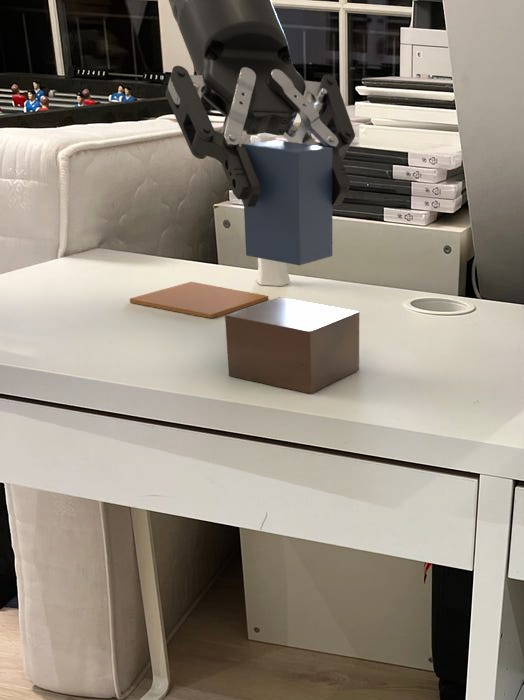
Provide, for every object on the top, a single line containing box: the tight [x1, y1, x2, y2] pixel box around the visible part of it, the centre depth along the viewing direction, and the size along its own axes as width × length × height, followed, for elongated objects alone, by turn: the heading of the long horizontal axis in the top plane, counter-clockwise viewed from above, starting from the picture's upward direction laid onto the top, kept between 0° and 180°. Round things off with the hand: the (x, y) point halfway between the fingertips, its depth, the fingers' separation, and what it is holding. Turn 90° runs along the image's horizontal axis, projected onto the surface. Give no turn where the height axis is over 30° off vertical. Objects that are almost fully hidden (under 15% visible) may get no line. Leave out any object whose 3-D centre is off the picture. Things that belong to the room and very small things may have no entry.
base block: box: [224, 296, 360, 395], centre depth 82 cm, size 8×8×5 cm
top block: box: [240, 139, 333, 266], centre depth 76 cm, size 5×5×8 cm
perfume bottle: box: [255, 133, 291, 287], centre depth 107 cm, size 5×4×15 cm
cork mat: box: [129, 281, 269, 319], centre depth 102 cm, size 10×10×1 cm
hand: (298, 199), depth 75 cm, fingers closed on top block, 7 cm apart
